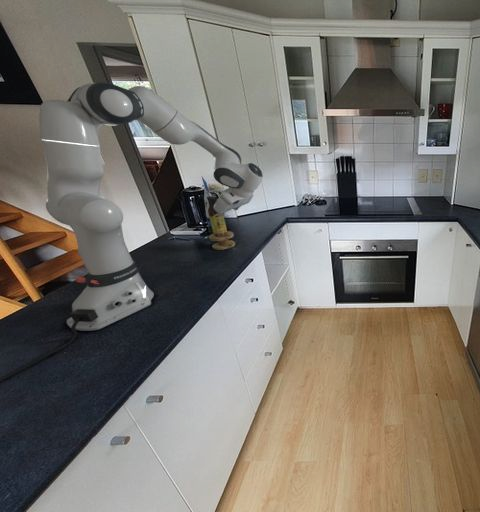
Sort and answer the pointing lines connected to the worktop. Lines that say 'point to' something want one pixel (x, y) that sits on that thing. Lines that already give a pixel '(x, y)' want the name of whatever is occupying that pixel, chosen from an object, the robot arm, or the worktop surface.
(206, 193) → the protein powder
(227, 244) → the stand
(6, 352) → the worktop surface
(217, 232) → the sauce bottle
